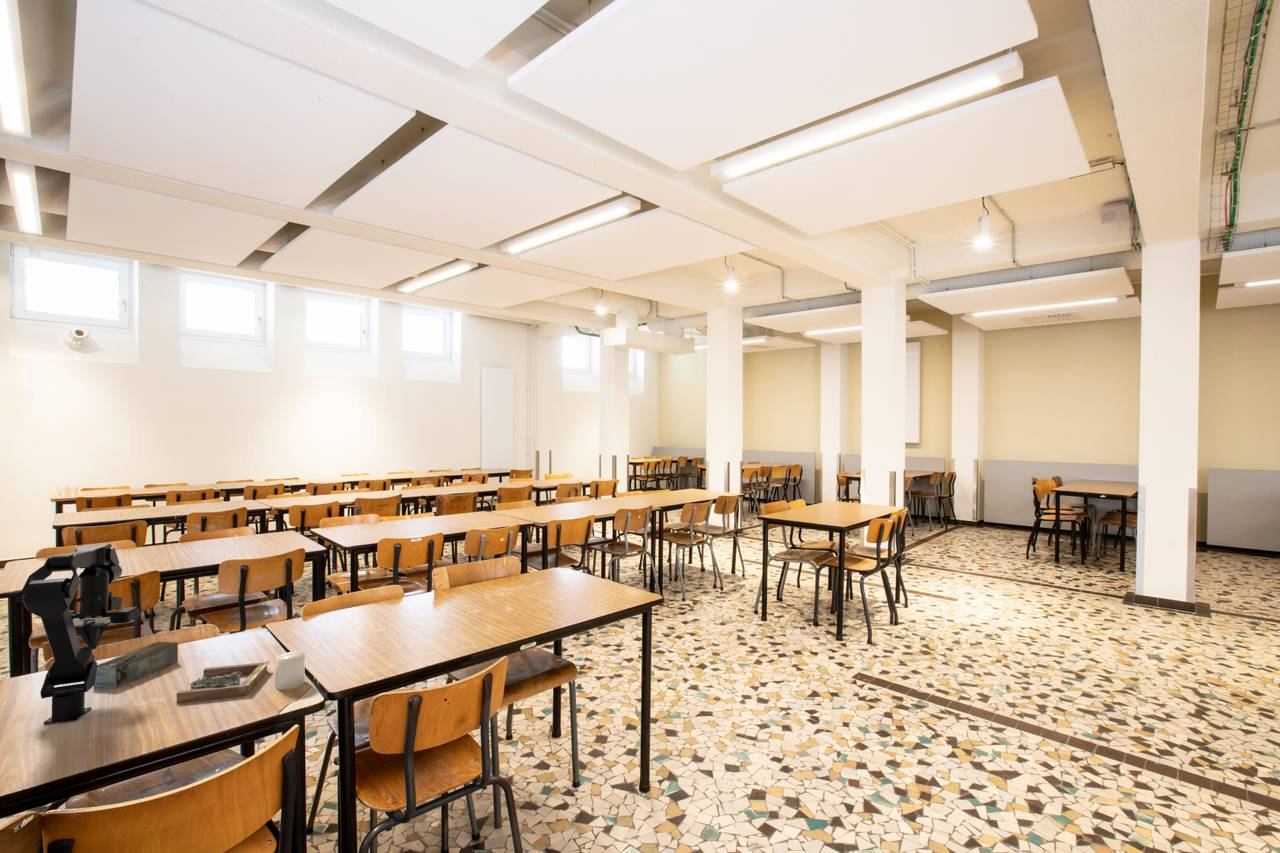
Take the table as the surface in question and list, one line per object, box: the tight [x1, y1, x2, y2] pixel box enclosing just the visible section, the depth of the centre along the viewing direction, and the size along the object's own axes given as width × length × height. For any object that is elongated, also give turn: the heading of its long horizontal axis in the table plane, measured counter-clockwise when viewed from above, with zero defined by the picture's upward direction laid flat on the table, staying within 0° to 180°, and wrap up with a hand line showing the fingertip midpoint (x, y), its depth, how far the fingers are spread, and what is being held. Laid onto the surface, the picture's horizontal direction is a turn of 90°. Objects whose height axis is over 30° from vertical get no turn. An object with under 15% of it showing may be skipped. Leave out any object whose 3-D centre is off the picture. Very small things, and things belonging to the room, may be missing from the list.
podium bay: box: [176, 660, 271, 704], centre depth 160 cm, size 17×16×3 cm
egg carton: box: [188, 671, 242, 690], centre depth 157 cm, size 11×8×4 cm
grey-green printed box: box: [93, 641, 179, 689], centre depth 168 cm, size 8×19×7 cm, turn 173°
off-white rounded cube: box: [274, 650, 306, 691], centre depth 161 cm, size 7×7×8 cm
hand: (93, 648), depth 155 cm, fingers closed
